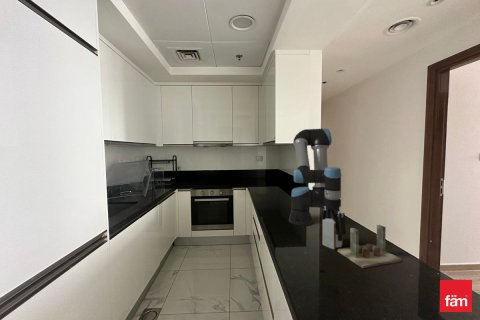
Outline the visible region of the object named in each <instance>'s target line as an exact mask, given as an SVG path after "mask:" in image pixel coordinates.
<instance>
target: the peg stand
mask: <svg viewBox="0 0 480 320" xmlns="http://www.w3.org/2000/svg"><path fill="white" fill-rule="evenodd" d="M349 230H350V231H349V232H350V242H349V243H350V245H349V246H350V247H344V248H337V252H338V253H339V254H341V255H342V256H344V257H345V258H347V259H348V260H349V261H351V262H353V263H354V264H356V265H357V266H359V267H360V268H362V269H366V268H371V267H377V266H384V265H387V264H389V265H390V264H394V263H400V262H402V258H400V257H399V256H397V255H395V254H392V253H390V252H388V251H386V234H387V232H386V231H387V230H386V226H384V225H381V224H377V225H376V245H375V244H373V243H372V244H371V243H366V244H363V245H360V243H359V242H360V241H359V240H360V236H359V233H360V231H359V229H357V228H355V227H351V228H350V229H349Z"/></svg>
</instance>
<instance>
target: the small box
mask: <svg viewBox="0 0 480 320" xmlns="http://www.w3.org/2000/svg"><path fill="white" fill-rule="evenodd" d="M339 232H340V231H339ZM336 233H337V231H336V223H335V222H334V220H333V219H332V217H331V218H326V219H324V220H323V224H322V245H323V246H324V247H326V248H329V249H331V250H336V249H339V247H336ZM343 237H344V234H342V246H343V244H344V242H343V239H344V238H343Z"/></svg>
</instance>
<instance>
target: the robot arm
mask: <svg viewBox="0 0 480 320" xmlns="http://www.w3.org/2000/svg"><path fill="white" fill-rule="evenodd" d="M331 145H332V134H331V131H330V130H329V128H322V127H321V128H310V129H309V128H308V129H303V130H300V131H299V132H298V133H297V134H296V135H295V137H294V138H293V148H294V149H295V150H294V152H295V162H296V163H295V165H296V169H294V170H293V182H294V183H297V184H313V186H312V187H311V188H312V189H310V187H308V186H299V187H294V188H292V190H291V194H290V195H291V210H290V214H289V218H288V222H289V223H290V224H292V225H294V226H301V227H303V226H304V227H305V226H306V227H307V226H311V225H313V217H312V215H311V211H310V208H317V209H318V208H320V209H322V210H321V219H320V224H321V225H323V220H324V219H326V218H331V217H332V219H333V220H334V222H335V223H336V231H337V233H336V247H338V248H342V247H343V245H342V234H343V235H346V234H347V231H346V230H347V229H346V222H345V216H346V215H345V212H341V210H340V209H341V206H342V172H341V171H342V170H341V168H340V167H335V166H334V167H333V166H331V167H330V166H329V167H328V165H329V164H328V149H329V147H330V146H331ZM308 146H310V148H311V150H312V151H313V169H311V166H310V165H311V164H310V159H309V152H308V151H309V150H308ZM339 231H340V232H339Z"/></svg>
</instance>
